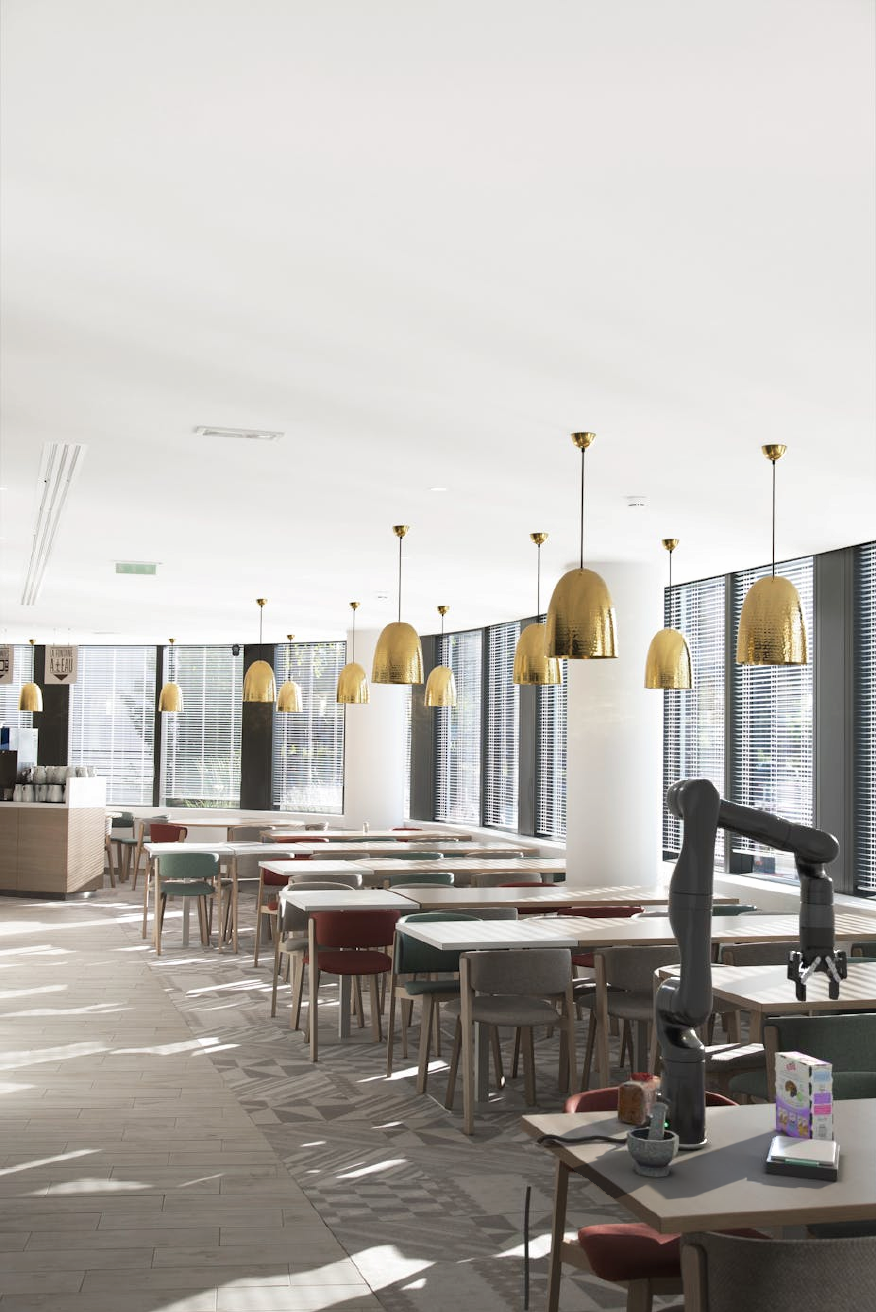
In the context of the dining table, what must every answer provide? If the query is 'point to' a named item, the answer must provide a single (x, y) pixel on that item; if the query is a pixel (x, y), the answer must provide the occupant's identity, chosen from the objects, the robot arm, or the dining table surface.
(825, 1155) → the scale
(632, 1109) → the food item
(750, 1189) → the dining table surface
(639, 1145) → the mortar and pestle
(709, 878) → the robot arm
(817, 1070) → the candy box
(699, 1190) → the dining table surface
